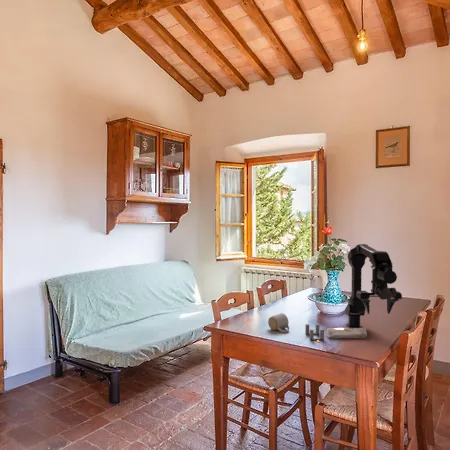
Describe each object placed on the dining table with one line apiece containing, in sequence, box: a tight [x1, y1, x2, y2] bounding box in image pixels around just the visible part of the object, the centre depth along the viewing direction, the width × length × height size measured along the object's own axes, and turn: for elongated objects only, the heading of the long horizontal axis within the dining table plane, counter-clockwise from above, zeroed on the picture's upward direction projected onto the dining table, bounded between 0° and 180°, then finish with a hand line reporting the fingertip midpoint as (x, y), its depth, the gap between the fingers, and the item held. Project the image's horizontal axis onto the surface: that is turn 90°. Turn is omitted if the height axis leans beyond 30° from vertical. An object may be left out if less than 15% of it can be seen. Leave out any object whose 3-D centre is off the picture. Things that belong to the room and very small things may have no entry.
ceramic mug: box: [267, 312, 290, 334], centre depth 189 cm, size 11×8×8 cm
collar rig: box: [304, 323, 325, 343], centre depth 178 cm, size 15×6×5 cm, turn 2°
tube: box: [326, 326, 368, 339], centre depth 179 cm, size 18×4×5 cm, turn 92°
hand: (378, 313), depth 168 cm, fingers open, 9 cm apart
